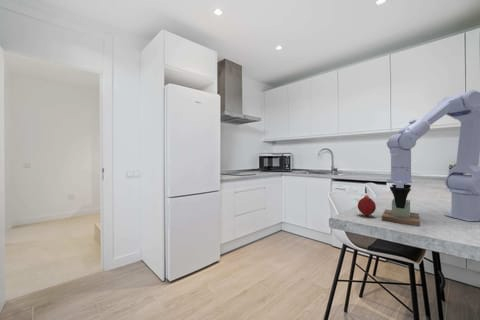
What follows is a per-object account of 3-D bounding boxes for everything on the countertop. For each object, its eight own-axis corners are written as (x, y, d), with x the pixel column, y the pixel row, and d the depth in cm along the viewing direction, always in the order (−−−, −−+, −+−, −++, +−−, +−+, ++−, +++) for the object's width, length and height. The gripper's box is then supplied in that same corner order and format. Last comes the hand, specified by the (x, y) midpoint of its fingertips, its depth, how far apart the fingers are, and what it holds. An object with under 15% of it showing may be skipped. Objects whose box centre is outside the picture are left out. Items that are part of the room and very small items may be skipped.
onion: (378, 218, 77) (378, 196, 76) (360, 218, 78) (360, 196, 78) (372, 214, 82) (372, 193, 82) (355, 213, 83) (355, 193, 83)
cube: (392, 212, 79) (392, 198, 79) (410, 214, 76) (410, 200, 76) (391, 215, 76) (391, 201, 76) (409, 217, 72) (410, 202, 72)
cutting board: (385, 213, 84) (385, 209, 84) (418, 217, 78) (418, 213, 78) (381, 220, 74) (381, 216, 74) (419, 226, 68) (419, 221, 68)
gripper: (388, 166, 84) (388, 201, 84) (385, 168, 73) (385, 208, 73) (411, 166, 79) (411, 203, 80) (411, 168, 68) (411, 211, 68)
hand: (400, 206), depth 76 cm, fingers open, 7 cm apart
